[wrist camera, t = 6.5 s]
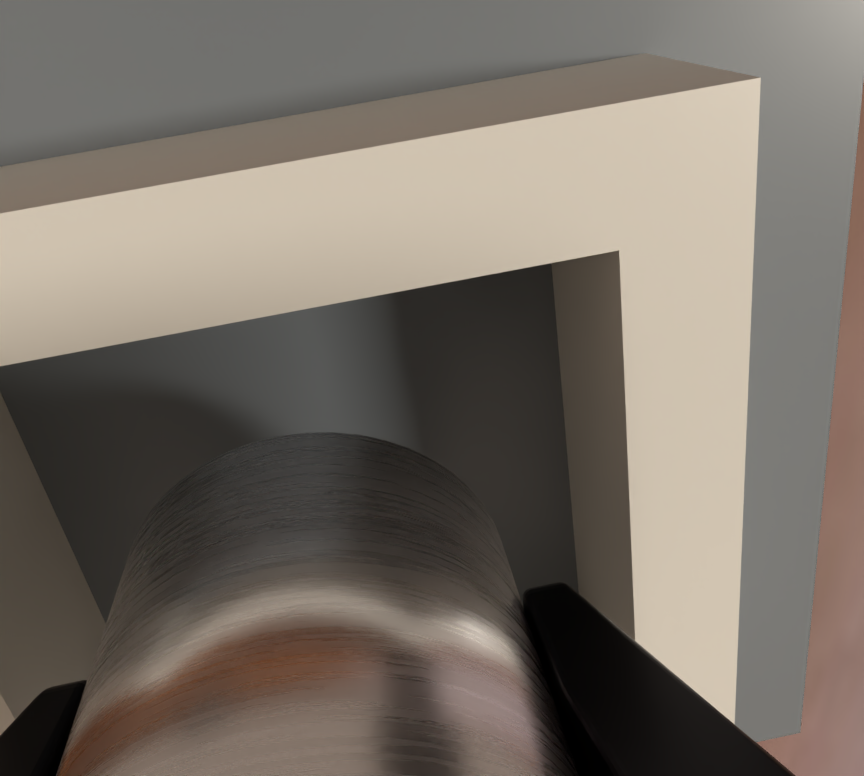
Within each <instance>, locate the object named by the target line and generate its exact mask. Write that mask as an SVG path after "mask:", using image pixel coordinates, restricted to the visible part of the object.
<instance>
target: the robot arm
mask: <svg viewBox="0 0 864 776" xmlns="http://www.w3.org/2000/svg"><path fill="white" fill-rule="evenodd" d="M523 608H524V612H525V615H526V618H527V621H528V624H529V627H530V630H531V633H532V636H533V639H534V642H535V645H536V648H537V651H538V654H539V657H540V660H541V663H542V666H543V669H544V672H545V675H546V678H547V681H548V684H549V687H550V691H551V694H552V697H553V700H554V703H555V706H556V709H557V712H558V715H559V718H560V721H561V724H562V727H563V730H564V732H565V735H566V738H567V741H568V744H569V747H570V750H571V753H572V756H573V759H574V762H575V765H576V768H577V771H578V774H579V776H795V775H794V774H793V773H792V772H791V771H789V770H788V769H787V768H786V767H785V766H783V765H782V764H781V763H780V762H779V761H777V760H776V759H775V758H774V757H773V756H772V755H770V754H769V753H768V752H767V751H766V750H764V749H763V748H762V747H761V746H760V745H758V744H757V743H756V742H755V741H754V740H752V739H751V738H750V737H749V736H748V735H747V734H745V733H744V732H743V731H742V730H741V729H739V728H738V727H737V726H736V725H735V724H733V723H732V722H731V721H730V720H729V719H728V718H726V717H725V716H724V715H723V714H722V713H720V712H719V711H718V710H717V709H716V708H714V707H713V706H712V705H711V704H710V703H708V702H707V701H706V700H705V699H704V698H703V697H701V696H700V695H699V694H698V693H697V692H695V691H694V690H693V689H692V688H691V687H689V686H688V685H687V684H686V683H685V682H684V681H682V680H681V679H680V678H679V677H678V676H676V675H675V674H674V673H673V672H672V671H670V670H669V669H668V668H667V667H666V666H664V665H663V664H662V663H661V662H660V661H659V660H657V659H656V658H655V657H654V656H653V655H651V654H650V653H649V652H648V651H647V650H645V649H644V648H643V647H642V646H641V645H639V644H638V643H637V642H636V641H635V640H634V639H632V638H631V637H630V636H629V635H628V634H626V633H625V632H624V631H623V630H622V629H620V628H619V627H618V626H617V625H616V624H615V623H613V622H612V621H611V620H610V619H609V618H607V617H606V616H605V615H604V614H603V613H601V612H600V611H599V610H598V609H597V608H595V607H594V606H593V605H592V604H591V603H590V602H588V601H587V600H586V599H585V598H584V597H582V596H581V595H580V594H579V593H578V592H576V591H575V590H574V589H573V588H572V587H571V586H569V585H568V584H566V583H563V582H557V583H552V584H547V585H542V586H537V587H533V588H529V589H527V590H526V591H525V592H524V594H523ZM86 683H87V680H81V681H76V682H71V683H67V684H62V685H57V686H52V687H50V688H47V689H45V690H44V691H42V692H41V693H40V694H39V695H38V696H37V697H36V698H35V699H34V700H33V701H32V702H31V703H30V704H29V705H28V706H27V707H26V708H25V709H24V710H23V712H22V713H21V714H20V715H19V716H18V717H17V718H16V719H15V720H14V721H13V722H12V723H11V724H10V725H9V726H8V728H7V729H6V730H5V731H4V732H3V733H2V734H1V735H0V776H56V774H57V771H58V768H59V765H60V762H61V759H62V755H63V752H64V749H65V746H66V743H67V740H68V737H69V734H70V731H71V728H72V725H73V722H74V719H75V716H76V713H77V710H78V707H79V704H80V701H81V698H82V695H83V692H84V689H85V686H86Z"/></svg>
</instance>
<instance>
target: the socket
mask: <svg viewBox="0 0 864 776" xmlns="http://www.w3.org/2000/svg"><path fill="white" fill-rule="evenodd" d="M863 79H864V0H0V735H1V734H2V733H3V732H4V731H5V730H6V729H7V728H8V726H9V725H10V724H11V723H12V722H13V721H14V720H15V719H16V718H17V717H18V716H19V715H20V714H21V713H22V712H23V710H24V709H25V708H26V707H27V706H28V705H29V704H30V703H31V702H32V701H33V700H34V699H35V698H36V697H37V696H38V695H39V694H40V693H41V692H42V691H44V690H45V689H47V688H50V687H52V686H57V685H62V684H67V683H71V682H76V681H81V680H88V677H89V674H90V671H91V667H92V664H93V661H94V658H95V655H96V652H97V649H98V646H99V643H100V640H101V637H102V634H103V631H104V628H105V625H106V622H107V619H108V616H109V613H110V610H111V607H112V604H113V601H114V598H115V595H116V592H117V589H118V586H119V583H120V579H121V576H122V573H123V570H124V567H125V564H126V561H127V558H128V555H129V552H130V550H131V547H132V545H133V542H134V539H135V537H136V534H137V532H138V531H139V529H140V527H141V526H142V524H143V522H144V520H145V519H146V517H147V515H148V514H149V513H150V511H151V510H152V509H153V508H154V507H155V505H156V504H157V503H158V502H159V500H160V499H161V498H162V497H163V496H164V495H165V494H166V493H167V492H168V491H169V490H170V489H171V488H172V487H173V486H175V485H176V484H177V483H178V482H179V481H180V480H181V479H183V478H184V477H186V476H187V475H188V474H190V473H191V472H193V471H194V470H195V469H197V468H198V467H200V466H201V465H203V464H205V463H207V462H209V461H211V460H212V459H214V458H216V457H218V456H220V455H222V454H224V453H226V452H229V451H231V450H234V449H237V448H239V447H242V446H244V445H247V444H250V443H253V442H257V441H261V440H265V439H269V438H273V437H277V436H285V435H292V434H299V433H318V432H336V433H347V434H358V435H363V436H368V437H373V438H378V439H383V440H387V441H390V442H393V443H396V444H398V445H401V446H404V447H407V448H410V449H412V450H414V451H416V452H418V453H421V454H423V455H425V456H427V457H429V458H431V459H433V460H434V461H436V462H437V463H439V464H440V465H442V466H443V467H445V468H446V469H448V470H449V471H451V472H452V473H454V474H455V475H456V476H457V477H458V478H459V479H460V480H462V481H463V482H464V483H465V484H466V485H467V486H468V487H469V488H470V489H471V490H472V491H473V492H474V494H475V495H476V496H477V497H478V498H479V500H480V501H481V502H482V503H483V505H484V506H485V508H486V509H487V511H488V513H489V514H490V516H491V518H492V519H493V521H494V523H495V526H496V528H497V531H498V533H499V536H500V538H501V541H502V544H503V547H504V550H505V553H506V556H507V559H508V562H509V565H510V568H511V571H512V574H513V577H514V580H515V584H516V587H517V590H518V593H519V596H520V599H521V602H522V605H523V594H524V592H525V591H526V590H527V589H529V588H533V587H537V586H542V585H547V584H552V583H557V582H563V583H566V584H568V585H569V586H571V587H572V588H573V589H574V590H575V591H576V592H578V593H579V594H580V595H581V596H582V597H584V598H585V599H586V600H587V601H588V602H590V603H591V604H592V605H593V606H594V607H595V608H597V609H598V610H599V611H600V612H601V613H603V614H604V615H605V616H606V617H607V618H609V619H610V620H611V621H612V622H613V623H615V624H616V625H617V626H618V627H619V628H620V629H622V630H623V631H624V632H625V633H626V634H628V635H629V636H630V637H631V638H632V639H634V640H635V641H636V642H637V643H638V644H639V645H641V646H642V647H643V648H644V649H645V650H647V651H648V652H649V653H650V654H651V655H653V656H654V657H655V658H656V659H657V660H659V661H660V662H661V663H662V664H663V665H664V666H666V667H667V668H668V669H669V670H670V671H672V672H673V673H674V674H675V675H676V676H678V677H679V678H680V679H681V680H682V681H684V682H685V683H686V684H687V685H688V686H689V687H691V688H692V689H693V690H694V691H695V692H697V693H698V694H699V695H700V696H701V697H703V698H704V699H705V700H706V701H707V702H708V703H710V704H711V705H712V706H713V707H714V708H716V709H717V710H718V711H719V712H720V713H722V714H723V715H724V716H725V717H726V718H728V719H729V720H730V721H731V722H732V723H733V724H735V725H736V726H737V727H738V728H739V729H741V730H742V731H743V732H744V733H745V734H747V735H748V736H749V737H750V738H751V739H752V740H754V741H755V742H759V741H764V740H769V739H773V738H778V737H782V736H787V735H792V734H796V733H800V729H801V719H802V708H803V698H804V688H805V677H806V667H807V657H808V646H809V636H810V626H811V615H812V605H813V595H814V584H815V574H816V564H817V553H818V543H819V533H820V523H821V512H822V502H823V492H824V481H825V471H826V461H827V450H828V440H829V430H830V419H831V409H832V399H833V388H834V378H835V368H836V357H837V347H838V337H839V326H840V316H841V306H842V296H843V285H844V275H845V265H846V254H847V244H848V234H849V223H850V213H851V203H852V192H853V182H854V172H855V161H856V151H857V141H858V130H859V120H860V110H861V100H862V89H863Z"/></svg>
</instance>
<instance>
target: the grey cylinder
mask: <svg viewBox="0 0 864 776" xmlns="http://www.w3.org/2000/svg"><path fill="white" fill-rule="evenodd" d="M56 776H579V774H578V771H577V768H576V765H575V762H574V759H573V756H572V753H571V750H570V747H569V744H568V741H567V738H566V735H565V732H564V730H563V727H562V724H561V721H560V718H559V715H558V712H557V709H556V706H555V703H554V700H553V697H552V694H551V691H550V687H549V684H548V681H547V678H546V675H545V672H544V669H543V666H542V663H541V660H540V657H539V654H538V651H537V648H536V645H535V642H534V639H533V636H532V633H531V630H530V627H529V624H528V621H527V618H526V615H525V612H524V608H523V605H522V602H521V599H520V596H519V593H518V590H517V587H516V584H515V580H514V577H513V574H512V571H511V568H510V565H509V562H508V559H507V556H506V553H505V550H504V547H503V544H502V541H501V538H500V536H499V533H498V531H497V528H496V526H495V523H494V521H493V519H492V518H491V516H490V514H489V513H488V511H487V509H486V508H485V506H484V505H483V503H482V502H481V501H480V500H479V498H478V497H477V496H476V495H475V494H474V492H473V491H472V490H471V489H470V488H469V487H468V486H467V485H466V484H465V483H464V482H463V481H462V480H460V479H459V478H458V477H457V476H456V475H455V474H454V473H452V472H451V471H449V470H448V469H446V468H445V467H443V466H442V465H440V464H439V463H437V462H436V461H434V460H433V459H431V458H429V457H427V456H425V455H423V454H421V453H418V452H416V451H414V450H412V449H410V448H407V447H404V446H401V445H398V444H396V443H393V442H390V441H387V440H383V439H378V438H373V437H368V436H363V435H358V434H347V433H336V432H318V433H299V434H292V435H285V436H277V437H273V438H269V439H265V440H261V441H257V442H253V443H250V444H247V445H244V446H242V447H239V448H237V449H234V450H231V451H229V452H226V453H224V454H222V455H220V456H218V457H216V458H214V459H212V460H211V461H209V462H207V463H205V464H203V465H201V466H200V467H198V468H197V469H195V470H194V471H193V472H191V473H190V474H188V475H187V476H186V477H184V478H183V479H181V480H180V481H179V482H178V483H177V484H176V485H175V486H173V487H172V488H171V489H170V490H169V491H168V492H167V493H166V494H165V495H164V496H163V497H162V498H161V499H160V500H159V502H158V503H157V504H156V505H155V507H154V508H153V509H152V510H151V511H150V513H149V514H148V515H147V517H146V519H145V520H144V522H143V524H142V526H141V527H140V529H139V531H138V532H137V534H136V537H135V539H134V542H133V545H132V547H131V550H130V552H129V555H128V558H127V561H126V564H125V567H124V570H123V573H122V576H121V579H120V583H119V586H118V589H117V592H116V595H115V598H114V601H113V604H112V607H111V610H110V613H109V616H108V619H107V622H106V625H105V628H104V631H103V634H102V637H101V640H100V643H99V646H98V649H97V652H96V655H95V658H94V661H93V664H92V667H91V671H90V674H89V677H88V680H87V683H86V686H85V689H84V692H83V695H82V698H81V701H80V704H79V707H78V710H77V713H76V716H75V719H74V722H73V725H72V728H71V731H70V734H69V737H68V740H67V743H66V746H65V749H64V752H63V755H62V759H61V762H60V765H59V768H58V771H57V774H56Z"/></svg>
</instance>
